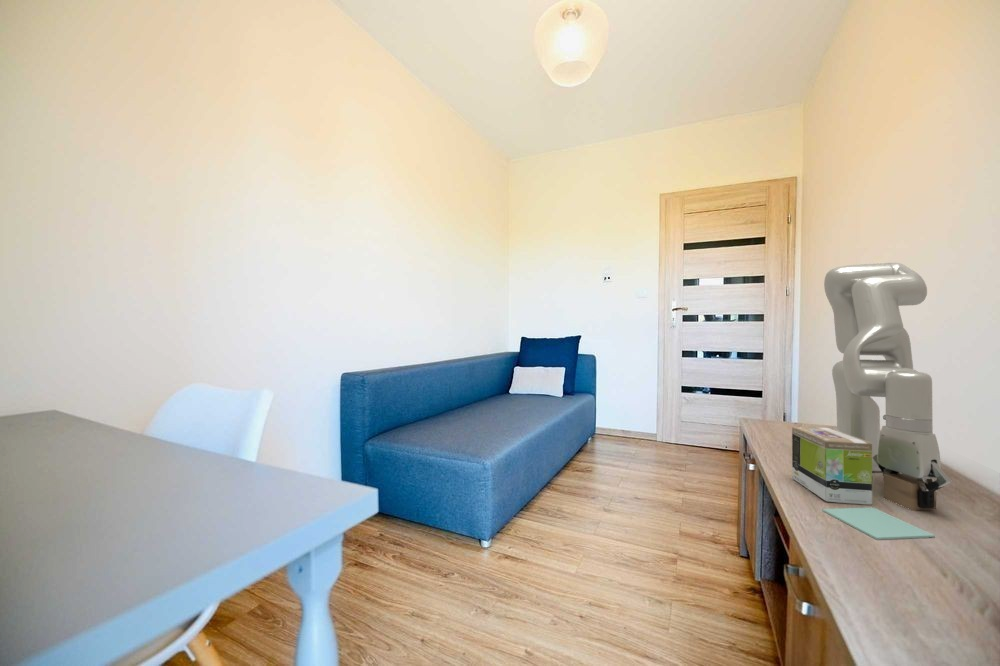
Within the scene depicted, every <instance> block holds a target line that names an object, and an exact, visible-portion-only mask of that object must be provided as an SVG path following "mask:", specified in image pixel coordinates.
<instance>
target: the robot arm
mask: <svg viewBox="0 0 1000 666" xmlns="http://www.w3.org/2000/svg"><path fill="white" fill-rule="evenodd" d="M823 284H824V286H823V287H824V292H825V293H824V294H825V296H826V298H827V301H828V302H829V305H830V306H831V309H832V313H833V322H834V332H835V333H834V334H835V342H836V347H837V350H838V351H839V352H840V353H841V354H843V356H842V360H840V361H838V362H836V363H835V364H834V365H833V367H832V370H831V372H832V373H831V375H832V380H833V384H834V390H835V399H836V405H835V406H836V430H837V431H840V432H843V433H846V434H849V435H851V436H854V437H857V438H859V439H862V440H865V441H868V442H870V443H872V472H882V475H883V474H905V475H908V476H911V477H915V478H917V481H918V483H919V486H920V488H921V490H918V507H920V508H934V491H936V492H938V491H939V490H940V489H942V488H944V487H945V486H947V485H949V484H951V483H952V479H951V478H950V477H949V476H948V474H947V473H946V472H945V471H944V470H943V469H942V466H941V453H940V449H939V444H938V440H937V436H936V434H935V433H933V432H934V431H933V428H934V427H933V426H934V425H933V380H932V379H933V378H932V377H931V375H930V374H928V373H925V372H922V371H921V372H920V371H917V370H916V369H914V363H913V355H912V346H911V345H912V344H911V343H912V342H911V339H910V335H909V333H908V331H907V329H906V328H904V324H903V320H902V315H901V312H900V307H902V306H903V307H906V306H916V305H917V306H918V305H920V304H922V303H924V301H925V300H926V298H927V295H928V287H927V284H926V281H925V280H924V278H923V277H922V276H921V275H920V274H919V273H918V272H916V271H915V270H913V269H911V268H910V267H908V266H906V265H905V264H903V263H900V262H884V263H868V264H867V263H865V264H851V265H842V266H838V267H834V268H832V269H830V270H829V271H828V272H827V273H826V274H825V276H824V282H823ZM899 306H900V307H899ZM860 356H881V357H884V359H861V358H860ZM872 397H875V398H880V397H881V398H885V414H884V415H882V419H883V420H884V421H885V425H882V427H881V415H880V412H881V410H880V407H879V405H878V404H877V402H876V401H875V400H874V399H873V398H872ZM935 479H936V480H935ZM925 480H927V482H928V484H926V481H925Z"/></svg>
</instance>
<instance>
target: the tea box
mask: <svg viewBox="0 0 1000 666" xmlns="http://www.w3.org/2000/svg"><path fill="white" fill-rule="evenodd" d="M791 430H792V431H791V439H792V440H791V445H792V446H791V448H792V449H791V455H792V457H791V459H792V460H791V463H792V465H791V466H792V467H791V468H792V469H791V471H792V480H794V481H796V482H797V483H798V484H800V485H802V486H803V487H805V488H806V489H807V490H809V491H811V492H812V493H814V494H815V495H816V496H818V497H819V498H821V499H822V500H824V501H825V502H829V503H839V504H851V505H871V506H872V504H873V471H872V443H870V442H868V441H865V440H862V439H859V438H857V437H854V436H851V435H849V434H846V433H843V432H840V431H837V429H835V428H833V427H832V428H831V427H830V428H829V427H814V426H813V427H810V426H791Z"/></svg>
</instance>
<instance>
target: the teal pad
mask: <svg viewBox="0 0 1000 666" xmlns="http://www.w3.org/2000/svg"><path fill="white" fill-rule="evenodd" d="M821 511H822V512H823V513H824V514H825V513H826V514H827V515H829V516H831V517H833V518H834V519H837V520H839V521H840V522H842V523H844V524H847V525H848V526H850V527H852V528H854V529H856V530H857V531H859V532H861V533H862V534H865V535H866V536H869V537H871V538H872V539H875V540H880V541H881V540H899V539H901V540H902V539H904V540H905V539H926V538H927V539H928V538H929V537H932V538H935V537H936V536H935V534H933V533H931V532H929V531H926V530H924V529H922V528H920V527H917V526H915V525H912V524H911V523H908V522H906V521H904V520H902V519H900V518H897V517H895V516H893V515H891V514H888V513H886V512H884V511H882V510H881V509H877V508H876V507H872V506H871V507H848V508H847V507H845V508H823V509H821Z"/></svg>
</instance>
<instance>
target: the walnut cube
mask: <svg viewBox="0 0 1000 666" xmlns="http://www.w3.org/2000/svg"><path fill="white" fill-rule="evenodd" d="M882 477H883V481H882V482H883V499H884V498H885V499H884V500H886V499H887V500H886V501H888V500H890V501H889V502H891V501H892V502H891V503H893V502H894V503H893V504H895V503H897V504H896V505H898V504H899V505H898V506H900V505H902V506H901V507H903V506H904V507H903V508H905V507H906V508H905V509H907V508H909V509H908V510H910V509H911V510H910V511H923V510H924V511H925V510H937V491H934V508H920V507H918V490H921V488H920V486H919V483H918V481H917V478H915V477H911V476H908V475H905V474H902V473H900V474H883V473H882ZM925 481H926V484H928V482H927V480H926V479H925Z"/></svg>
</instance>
